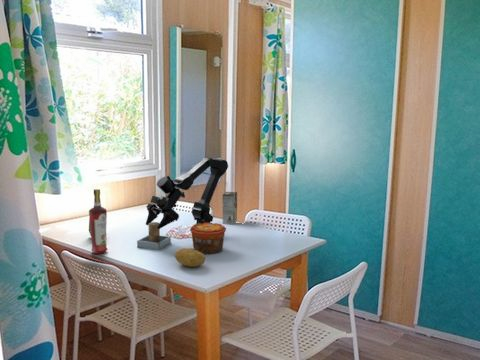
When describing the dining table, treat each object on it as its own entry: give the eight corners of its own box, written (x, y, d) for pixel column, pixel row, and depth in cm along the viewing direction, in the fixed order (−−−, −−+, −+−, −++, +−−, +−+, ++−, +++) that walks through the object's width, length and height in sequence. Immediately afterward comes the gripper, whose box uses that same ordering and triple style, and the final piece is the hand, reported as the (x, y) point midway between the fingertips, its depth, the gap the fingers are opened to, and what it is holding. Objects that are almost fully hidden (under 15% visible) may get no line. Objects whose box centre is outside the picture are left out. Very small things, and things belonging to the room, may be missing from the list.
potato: (192, 272, 190) (192, 255, 189) (170, 265, 198) (169, 248, 197) (208, 266, 197) (208, 249, 196) (186, 259, 205) (186, 243, 204)
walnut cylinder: (160, 242, 227) (159, 222, 226) (159, 245, 222) (158, 224, 221) (149, 242, 227) (149, 222, 225) (148, 245, 222) (147, 225, 220)
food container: (212, 257, 207) (212, 233, 206) (182, 251, 216) (182, 227, 214) (232, 248, 221) (233, 225, 219) (204, 242, 229) (204, 220, 227)
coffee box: (226, 219, 273) (226, 191, 270) (237, 220, 271) (237, 191, 269) (222, 223, 264) (222, 194, 261) (233, 224, 262) (233, 195, 260)
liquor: (101, 248, 218) (99, 187, 214) (111, 252, 214) (109, 189, 209) (87, 252, 213) (84, 189, 208) (97, 256, 208) (94, 191, 204)
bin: (170, 242, 228) (170, 236, 228) (159, 249, 218) (159, 243, 217) (149, 240, 232) (149, 234, 231) (137, 247, 221) (137, 240, 221)
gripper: (149, 186, 230) (129, 213, 224) (173, 192, 217) (153, 220, 211) (163, 200, 237) (144, 226, 231) (187, 206, 224) (168, 234, 218)
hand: (152, 226), depth 223 cm, fingers open, 9 cm apart
